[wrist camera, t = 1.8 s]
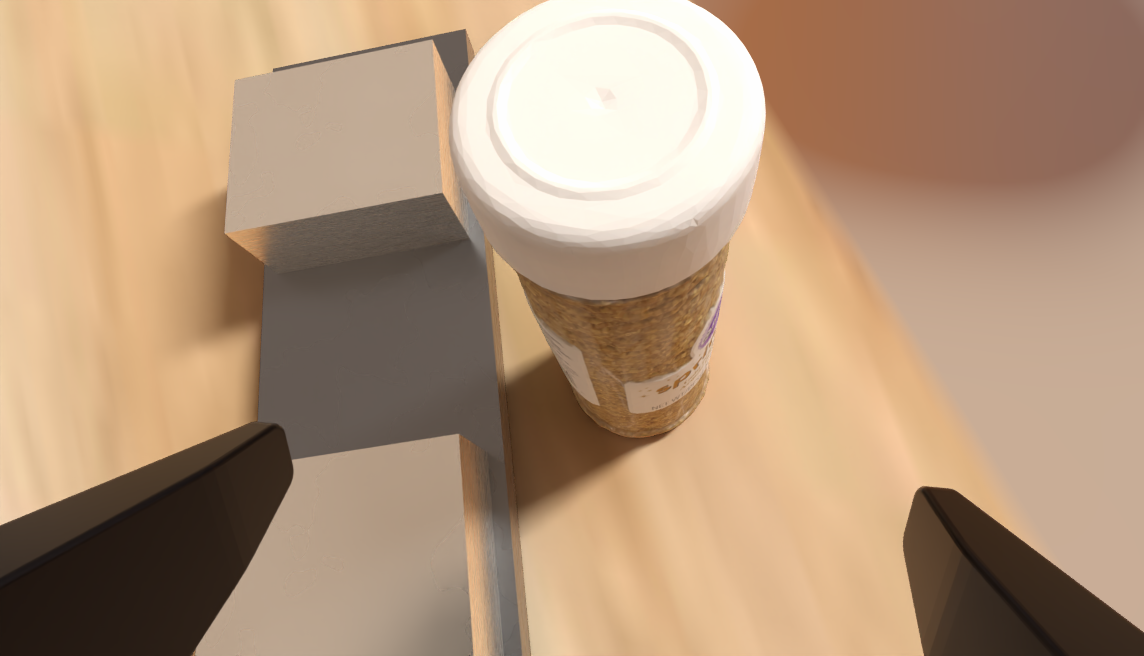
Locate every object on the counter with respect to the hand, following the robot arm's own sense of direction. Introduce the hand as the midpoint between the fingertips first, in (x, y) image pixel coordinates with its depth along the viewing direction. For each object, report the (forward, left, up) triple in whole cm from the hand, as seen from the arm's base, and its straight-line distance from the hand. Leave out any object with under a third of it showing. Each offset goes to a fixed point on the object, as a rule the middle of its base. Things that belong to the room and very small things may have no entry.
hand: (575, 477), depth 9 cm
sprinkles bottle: (+4, +3, -12) cm, 13 cm away
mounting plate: (-2, +9, -11) cm, 15 cm away
